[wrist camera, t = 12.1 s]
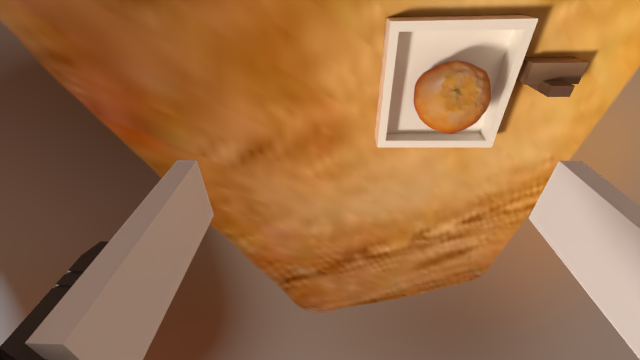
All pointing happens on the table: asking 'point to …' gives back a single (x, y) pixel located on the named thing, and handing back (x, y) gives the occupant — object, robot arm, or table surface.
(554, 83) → the block
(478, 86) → the fruit
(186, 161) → the robot arm
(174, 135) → the table surface
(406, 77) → the dish
